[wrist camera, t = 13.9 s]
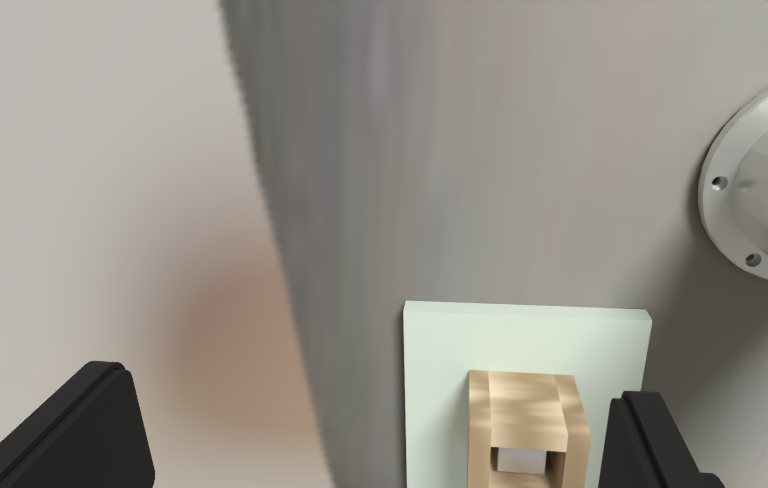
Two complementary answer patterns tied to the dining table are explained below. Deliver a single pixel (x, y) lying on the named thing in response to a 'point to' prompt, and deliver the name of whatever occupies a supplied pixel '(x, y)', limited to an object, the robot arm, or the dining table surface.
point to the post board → (510, 354)
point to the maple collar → (526, 428)
